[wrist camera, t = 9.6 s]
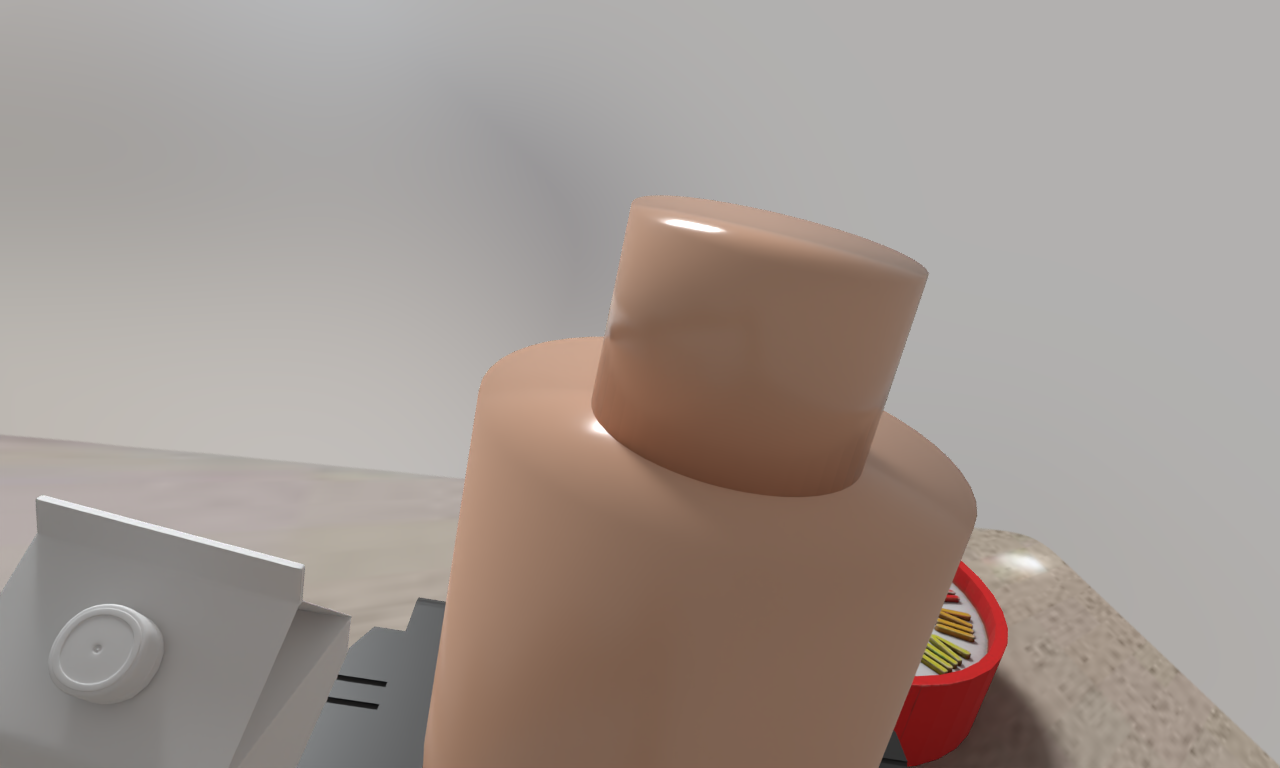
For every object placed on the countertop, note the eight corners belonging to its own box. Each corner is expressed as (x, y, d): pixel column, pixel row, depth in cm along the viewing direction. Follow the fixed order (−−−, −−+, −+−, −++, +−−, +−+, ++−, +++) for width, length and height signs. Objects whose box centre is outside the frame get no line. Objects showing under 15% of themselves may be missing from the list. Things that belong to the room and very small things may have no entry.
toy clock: (1082, 688, 47) (742, 682, 42) (1042, 769, 49) (713, 774, 44) (905, 498, 65) (650, 476, 60) (881, 563, 67) (633, 548, 62)
